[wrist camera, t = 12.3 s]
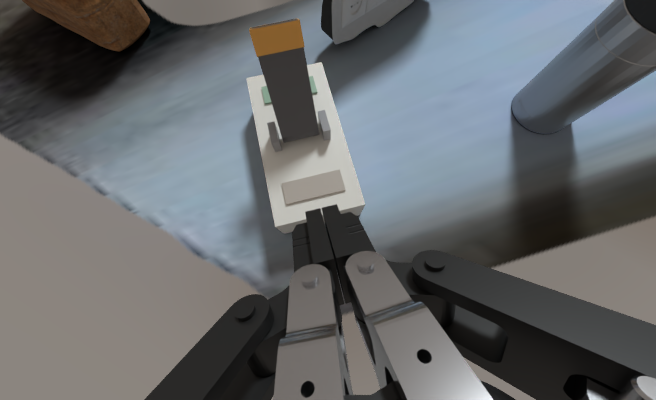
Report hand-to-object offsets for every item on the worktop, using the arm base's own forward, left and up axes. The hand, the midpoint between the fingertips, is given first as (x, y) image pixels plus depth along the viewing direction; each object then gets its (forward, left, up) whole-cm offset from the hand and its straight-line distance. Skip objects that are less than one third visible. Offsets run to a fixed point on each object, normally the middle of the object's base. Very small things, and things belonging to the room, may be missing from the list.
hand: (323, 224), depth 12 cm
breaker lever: (0, -16, -19) cm, 25 cm away
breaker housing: (0, -17, -26) cm, 31 cm away
